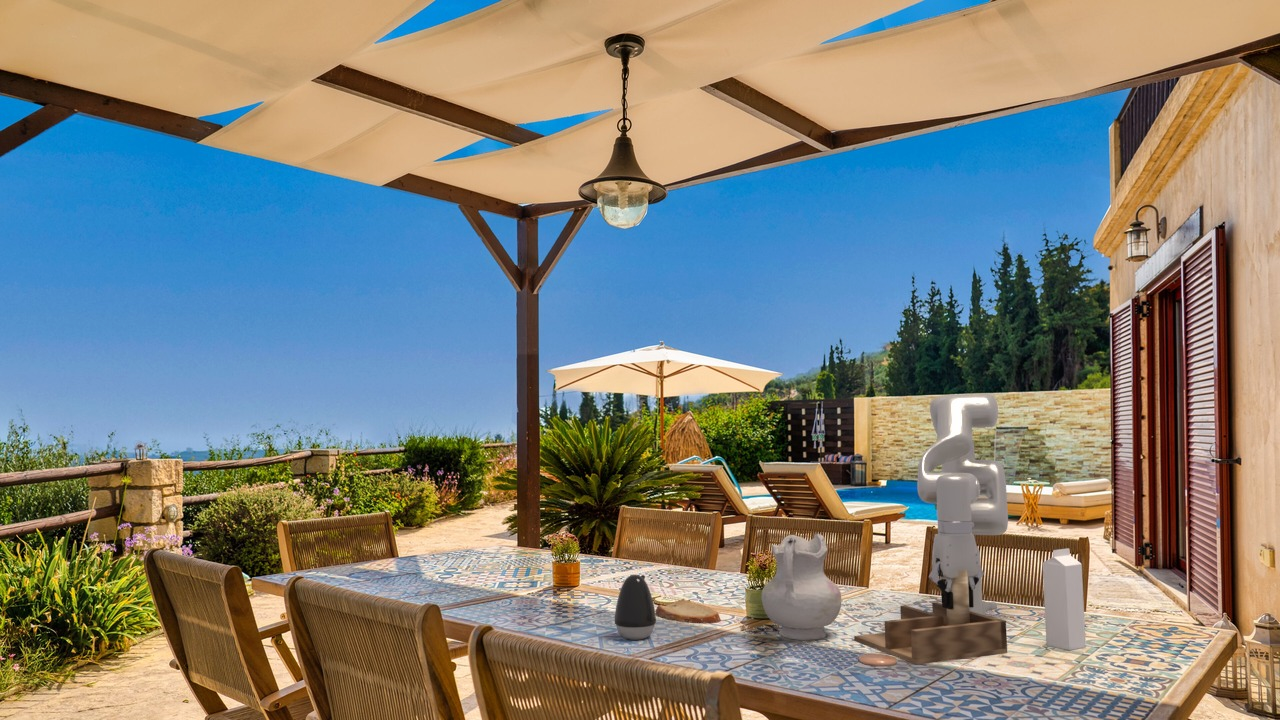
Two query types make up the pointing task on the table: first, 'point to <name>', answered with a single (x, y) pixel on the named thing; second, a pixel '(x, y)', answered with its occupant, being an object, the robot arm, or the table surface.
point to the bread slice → (688, 612)
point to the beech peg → (959, 600)
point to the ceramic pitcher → (801, 589)
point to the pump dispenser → (635, 609)
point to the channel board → (938, 636)
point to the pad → (877, 659)
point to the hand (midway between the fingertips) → (957, 606)
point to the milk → (1064, 601)
